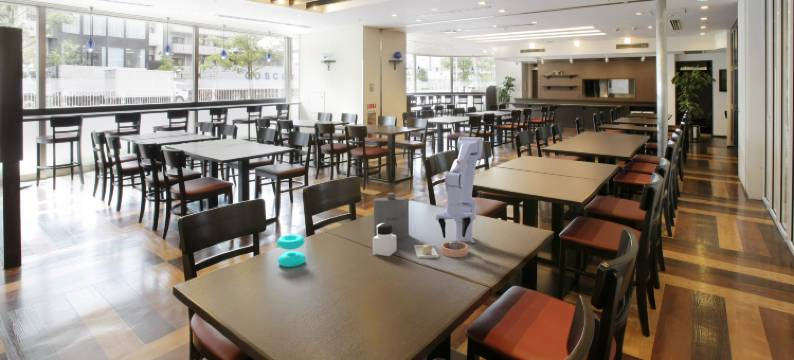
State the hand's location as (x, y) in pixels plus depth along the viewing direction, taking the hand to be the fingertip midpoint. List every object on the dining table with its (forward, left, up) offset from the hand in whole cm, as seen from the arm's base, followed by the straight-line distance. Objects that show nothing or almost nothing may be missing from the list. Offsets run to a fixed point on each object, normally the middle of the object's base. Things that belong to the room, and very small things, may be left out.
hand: (453, 236), depth 181 cm
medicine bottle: (-1, -27, -7) cm, 28 cm away
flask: (-19, -23, -7) cm, 31 cm away
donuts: (+5, -62, -7) cm, 63 cm away
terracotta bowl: (+2, 0, -6) cm, 7 cm away
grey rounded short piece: (0, 0, -6) cm, 6 cm away
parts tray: (+1, -11, -6) cm, 13 cm away
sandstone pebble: (+4, -11, -6) cm, 13 cm away
